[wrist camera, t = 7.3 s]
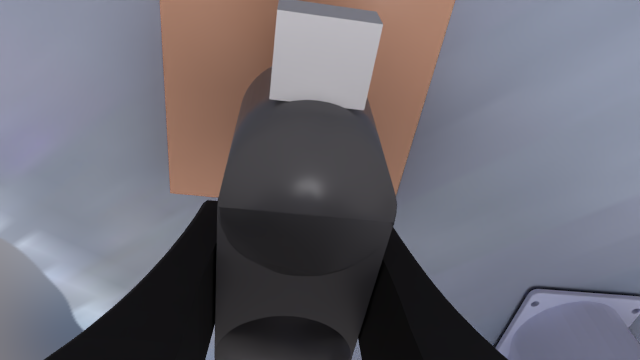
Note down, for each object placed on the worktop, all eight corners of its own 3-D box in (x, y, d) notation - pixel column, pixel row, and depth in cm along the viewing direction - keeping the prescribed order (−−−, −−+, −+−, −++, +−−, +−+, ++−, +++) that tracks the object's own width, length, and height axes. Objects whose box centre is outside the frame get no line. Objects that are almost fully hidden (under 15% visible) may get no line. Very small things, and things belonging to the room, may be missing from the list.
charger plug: (331, 291, 16) (338, 398, 13) (231, 284, 16) (213, 393, 13) (400, -2, 11) (445, 59, 7) (246, -24, 10) (220, 29, 7)
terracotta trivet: (387, 201, 24) (390, 213, 23) (175, 181, 23) (170, 193, 22) (451, -19, 18) (459, -14, 17) (163, -64, 16) (156, -60, 16)
